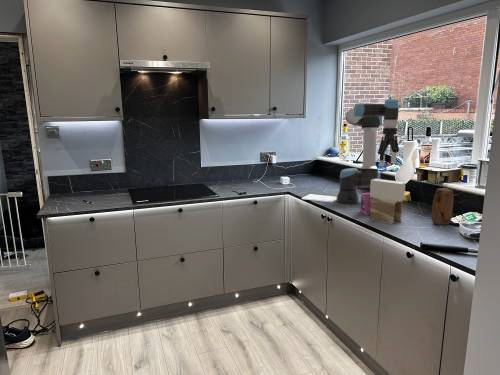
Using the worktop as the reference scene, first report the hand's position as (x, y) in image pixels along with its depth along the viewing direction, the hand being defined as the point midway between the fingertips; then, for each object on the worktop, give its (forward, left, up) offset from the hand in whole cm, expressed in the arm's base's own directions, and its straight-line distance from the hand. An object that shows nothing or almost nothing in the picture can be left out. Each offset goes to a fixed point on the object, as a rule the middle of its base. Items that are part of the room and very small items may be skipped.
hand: (387, 164), depth 214 cm
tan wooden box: (0, +1, -33) cm, 33 cm away
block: (-16, +26, -33) cm, 45 cm away
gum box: (-13, -10, -33) cm, 37 cm away
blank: (0, +1, -20) cm, 20 cm away
